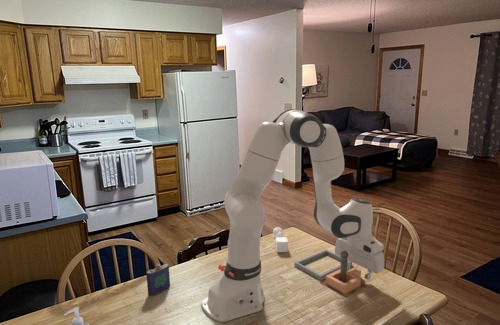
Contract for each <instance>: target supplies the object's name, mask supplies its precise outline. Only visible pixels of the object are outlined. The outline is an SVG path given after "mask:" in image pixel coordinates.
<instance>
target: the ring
mask: <svg viewBox="0 0 500 325" xmlns="http://www.w3.org/2000/svg"><path fill="white" fill-rule="evenodd" d="M340 271H341V269H339V270H337V271H335V272H333V273H331V274H329V275H327V276H326V278H325V280H326V282H325V283H326V284H328V285H329V286H331V287H333V288H335V289H337V290H338V291H340V292H342V293H344V294H346V293H348V292H350V291H351V290H353V289H355V288H357V287H359V286H360V285H361V283H362V282H361V281H362V270H361V269H360V268H357V267H356V268H355V269H353V270H350V271H347V274H346V281H348V282H346V283H343V282H341V281H339V279H340Z"/></svg>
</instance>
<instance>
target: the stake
mask: <svg viewBox="0 0 500 325" xmlns="http://www.w3.org/2000/svg"><path fill="white" fill-rule="evenodd" d="M347 257H348V252H346V251H342V252H341V261H340V265H341V271H340V279H339V281H341V282H343V283H346V282H348V281H346V274H347V272H348V270H347ZM325 282H326V279H324V280H321V282H320V283H319V284H321V285H322V286H324V287H326V288H328V289H329V290H331V291H333V292H335V293H336V294H339V295H340V296H342V297H344V298H348V297H349V296H351V295H353V294H355V293H357V292H359V291H360V290H362V289H364V288H365V287H367V285H365V284H363V283H362V282H361V285H360V286H359V287H357V288H355V289H353V290H351V291H350V292H348V293H346V294H344V293H342V292H340V291H338V290H337V289H335V288H333V287H331V286H329V285H328V284H326V283H325Z"/></svg>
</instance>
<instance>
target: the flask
mask: <svg viewBox="0 0 500 325" xmlns="http://www.w3.org/2000/svg"><path fill="white" fill-rule="evenodd" d="M145 275H146V282H147V283H146V284H147V295H148V297H154V296H156V295H159V294H161V293H162V292H164V291H166V290H169V288H170V287H171V281H170V278H171V277H170V276H171V275H170V265H169V263H164V264H162V265H161V264H160V263H156V266H155V267H154V268H153V269H149V270H147V272H146V273H145Z"/></svg>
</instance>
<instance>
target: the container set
mask: <svg viewBox="0 0 500 325" xmlns="http://www.w3.org/2000/svg"><path fill="white" fill-rule="evenodd" d="M272 238H274V245H275V251H276V253H288V252H289V241H288V237H287V236H284V231H283V229H282V227H279V226H277V227H274V228H273V231H272Z"/></svg>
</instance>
